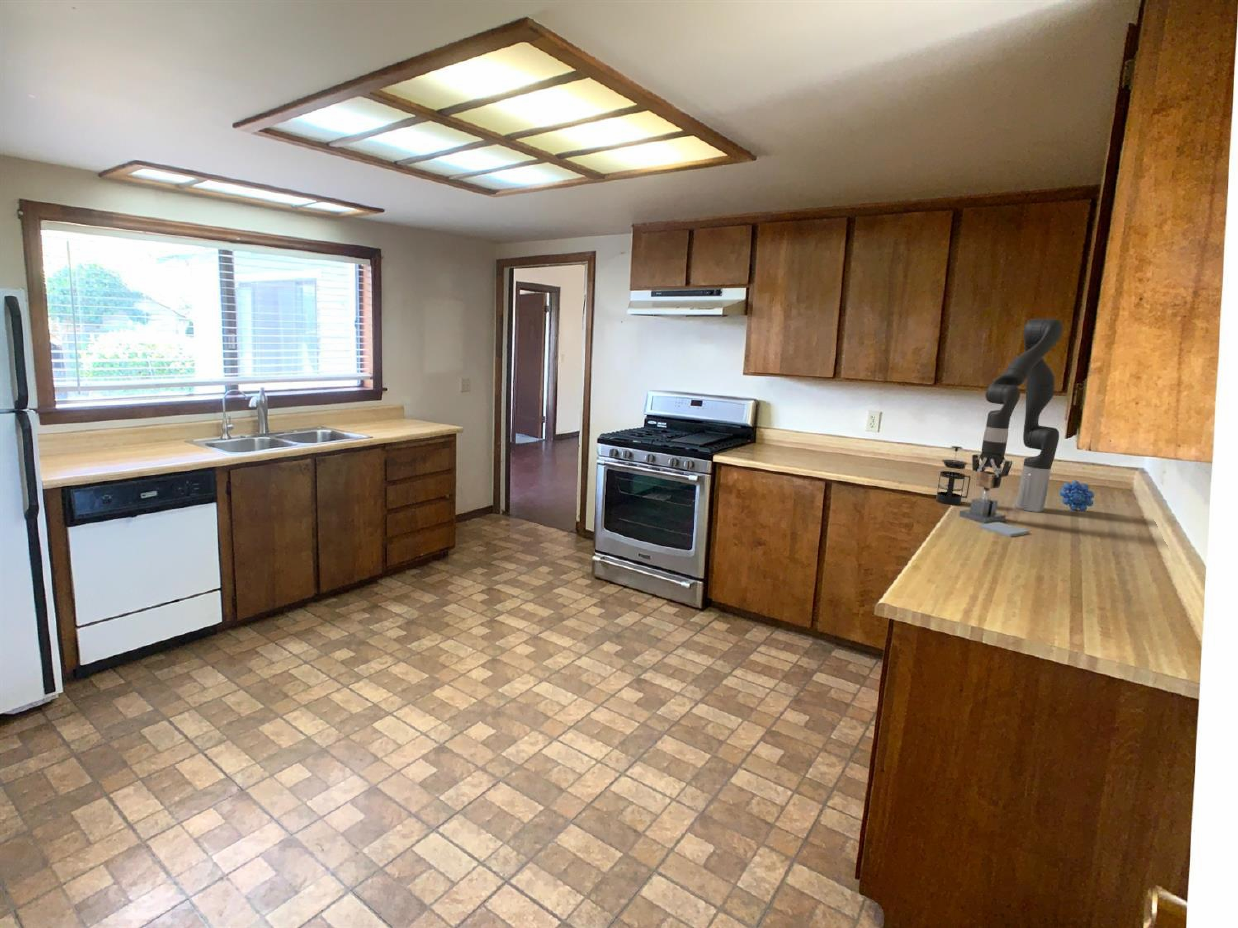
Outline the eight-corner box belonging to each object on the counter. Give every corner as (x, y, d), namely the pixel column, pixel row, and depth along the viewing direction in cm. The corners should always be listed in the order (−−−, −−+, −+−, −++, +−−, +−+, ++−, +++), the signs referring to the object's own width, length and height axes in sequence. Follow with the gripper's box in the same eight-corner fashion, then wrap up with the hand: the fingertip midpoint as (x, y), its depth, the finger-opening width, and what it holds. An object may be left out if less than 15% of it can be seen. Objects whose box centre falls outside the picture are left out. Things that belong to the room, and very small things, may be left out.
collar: (984, 484, 238) (986, 471, 237) (999, 487, 233) (1001, 474, 232) (975, 485, 235) (977, 472, 234) (990, 488, 231) (992, 475, 229)
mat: (997, 524, 229) (998, 521, 229) (1028, 533, 219) (1029, 530, 219) (978, 527, 224) (979, 524, 224) (1009, 536, 214) (1010, 534, 214)
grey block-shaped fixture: (978, 513, 244) (984, 480, 241) (1004, 520, 235) (1010, 486, 232) (959, 516, 238) (964, 482, 235) (984, 523, 229) (990, 488, 227)
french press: (933, 502, 257) (942, 446, 252) (933, 497, 265) (941, 443, 260) (966, 507, 252) (975, 450, 247) (965, 502, 260) (974, 446, 256)
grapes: (1057, 510, 255) (1063, 480, 253) (1055, 506, 261) (1061, 477, 259) (1093, 515, 250) (1099, 485, 247) (1090, 511, 256) (1096, 482, 253)
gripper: (1021, 442, 226) (1013, 489, 230) (982, 436, 239) (975, 480, 242) (1008, 443, 223) (1000, 490, 226) (969, 437, 235) (962, 481, 239)
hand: (987, 485), depth 234 cm, fingers closed on collar, 5 cm apart
